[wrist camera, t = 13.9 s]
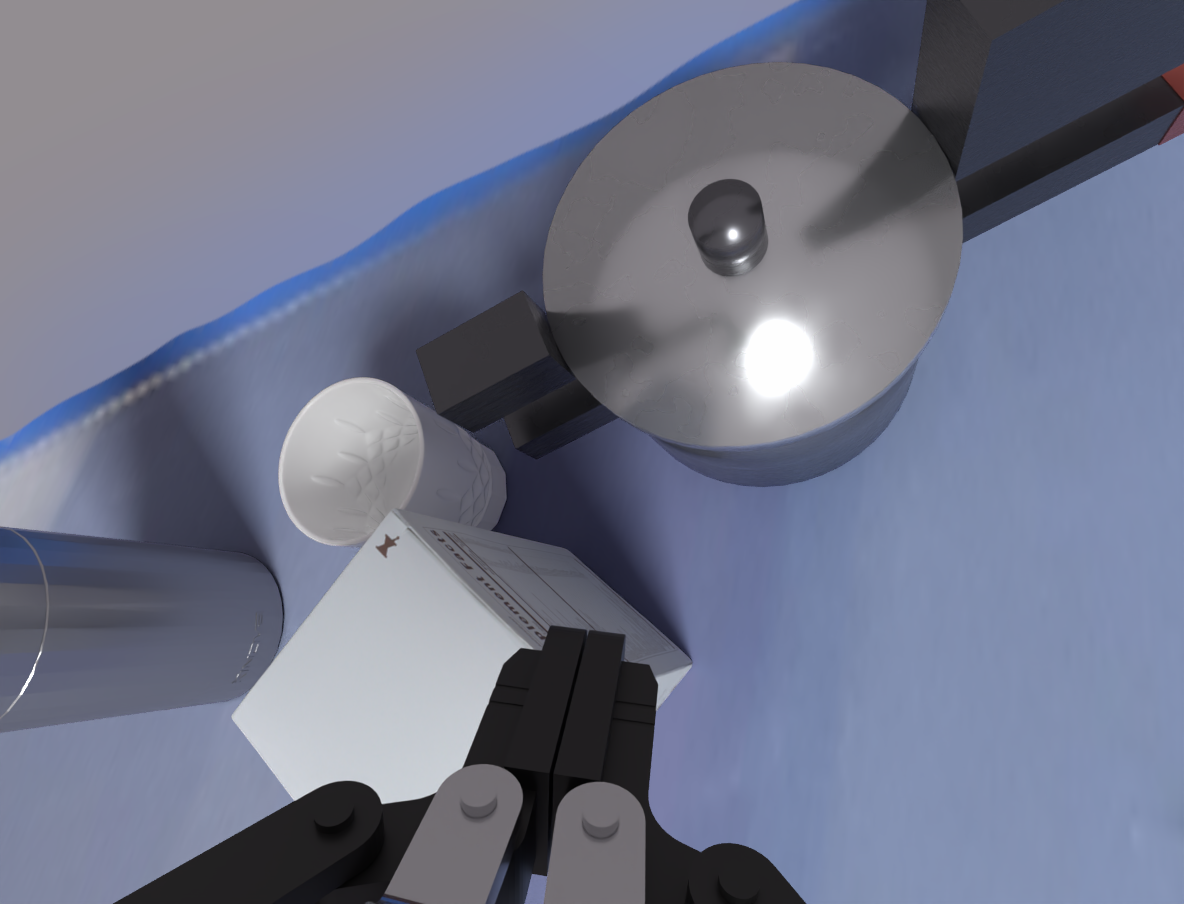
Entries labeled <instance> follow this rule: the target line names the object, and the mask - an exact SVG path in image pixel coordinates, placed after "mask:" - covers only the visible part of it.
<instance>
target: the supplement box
mask: <svg viewBox="0 0 1184 904" xmlns="http://www.w3.org/2000/svg"><path fill="white" fill-rule="evenodd" d="M551 625H555V626H563V627H571V628H578V629H586V630H587V636H588V632H589V630H595V631H603V632H611V633H619V634H626V644H625V657H624V661H626V662H633V663H641V664H648V665H650V667H651V670H652V672H653V674H654V676H655V678H656V681H657V683H658V694H657V705H656V711H657V710H658V709H659V707H660V706H661V705H662V703H663V702H664V701H665V700H666V698H667V697H668V696H669V695H670V693H671V692H672V691H673V690H674V688H675V687H676V686H677V685H678V684H679V682H680V681H681V680H682V678H683V677H684V676H685V675H686V673H687V672H688V671H689V670H690V668H691V667H692V661H691V659H690V658H689V657H688V656H687V655H686V654H685V653H684V652H683V651H681V650H680V649H679V648H678V647H677V646H676V645H675V644H674V643H673V642H672V641H670V640H669V639H668V638H667V637H666V636H665V635H664V634H663V633H662V632H660V631H659V630H658V629H657V628H656V627H655V626H654V625H653V624H652V623H650V622H649V621H648V620H647V619H646V618H645V617H643V616H642V615H641V614H640V613H639V612H638V611H637V610H635V609H634V608H633V607H632V606H631V605H630V604H628V603H627V602H626V601H625V600H624V599H623V598H622V597H621V596H619V595H618V594H617V593H616V592H615V591H614V590H613V589H612V588H610V587H609V586H608V585H607V584H606V583H605V582H604V581H603V580H601V579H600V578H599V577H598V576H597V575H596V574H595V573H594V572H592V571H591V570H590V569H589V568H588V567H587V566H586V565H585V564H583V563H582V562H581V561H580V560H579V559H578V558H577V557H576V556H575V555H573V554H572V553H571V552H570V551H568V550H567V549H565V548H562V547H557V546H554V545H549V544H545V543H540V542H536V541H532V540H528V539H523V538H519V537H515V536H511V535H506V534H502V533H498V532H493V531H488V530H484V529H481V528H477V527H472V526H469V525H465V524H461V523H457V522H452V521H448V520H444V519H440V518H435V517H431V516H427V515H423V514H419V513H415V512H410V511H406V510H402V509H397V508H394V509H392V510H391V511H390V512H389V514H388V515H387V516H386V517H385V518H384V520H383V521H382V522H381V523H380V525H379V526H378V527H377V528H376V530H375V531H374V532H373V533H372V535H371V536H370V537H369V539H368V540H367V541H366V542H365V544H364V545H363V546H362V548H361V549H360V550H359V551H358V553H357V554H356V555H355V556H354V558H353V559H352V560H351V562H350V563H349V564H348V565H347V567H346V568H345V569H344V571H343V572H342V573H341V574H340V576H339V577H338V578H337V580H336V581H335V582H334V584H333V585H332V586H331V587H330V589H329V590H328V591H327V593H326V594H325V595H324V596H323V598H322V599H321V600H320V602H319V603H318V604H317V605H316V607H315V608H314V609H313V611H312V612H311V613H310V614H309V616H308V617H307V618H306V620H305V621H304V622H303V623H302V625H301V626H300V627H299V629H298V630H297V631H296V632H295V634H294V635H293V636H292V638H291V639H290V640H289V641H288V643H287V644H286V645H285V647H284V648H283V649H282V650H281V652H280V653H279V654H278V656H277V657H276V658H275V659H274V661H273V662H272V663H271V665H270V666H269V667H268V668H267V670H266V671H265V672H264V673H263V675H262V676H261V677H260V678H259V680H258V681H257V682H256V684H255V685H254V686H253V687H252V689H251V690H250V691H249V693H248V694H247V695H246V697H245V698H244V699H243V701H242V702H241V704H240V705H239V706H238V708H237V709H236V710H235V711H234V713H233V714H232V719H233V721H234V722H235V723H236V725H237V726H238V727H239V728H240V730H241V731H242V732H243V733H244V735H245V736H246V738H247V739H248V740H249V741H250V743H251V744H252V745H253V747H254V748H255V749H256V751H257V752H258V753H259V754H260V756H261V757H262V758H263V760H264V761H265V762H266V764H267V765H268V766H269V768H270V769H271V770H272V772H273V773H274V774H275V776H276V777H277V778H278V780H279V781H280V782H281V784H282V785H283V786H284V788H285V789H286V790H287V792H288V793H289V794H290V796H291V797H292V798H293V800H294V801H295V800H297V799H299V798H301V797H303V796H304V795H306V794H308V793H310V792H311V791H313V790H315V789H317V788H319V787H321V786H323V785H326V784H329V783H332V782H337V781H357V782H361V783H364V784H366V785H368V786H369V787H371V788H372V789H373V790H374V791H375V792H376V793H377V794H378V796H379V797H380V800H381V803H382V804H385V803H393V802H400V801H408V800H414V799H419V798H423V797H426V796H429V795H431V794H434V793H436V792H437V790H438V789H439V787H440V786H441V784H442V783H443V782H444V781H445V780H446V778H448V777H449V776H450V775H451V774H453V773H454V772H456V771H458V770H460V769H462V767H463V765H464V763H465V760H466V758H467V755H468V753H469V750H470V747H471V745H472V742H473V740H474V737H475V735H476V732H477V730H478V727H479V725H480V722H481V720H482V717H483V714H484V712H485V709H486V707H487V705H488V704H489V699H490V697H491V694H492V692H493V689H494V688H495V685H496V682H497V679H498V676H499V674H500V671H501V669H502V666H503V664H504V663H505V662H506V661H507V660H508V659H509V658H510V657H511V656H512V655H513V654H515V653H516V652H517V651H518V650H519V649H520V648H527V649H534V650H542V648H543V645H544V642H545V639H546V636H547V633H548V630H549V627H550V626H551Z"/></svg>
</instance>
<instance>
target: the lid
mask: <svg viewBox="0 0 1184 904" xmlns="http://www.w3.org/2000/svg"><path fill="white" fill-rule="evenodd" d="M1182 64H1184V0H927V5H926V12H925V19H924V26H923V33H922V40H921V47H920V54H919V61H918V68H917V75H916V82H915V89H914V96H913V103H912V110H911V111H910V110H909V109H908V108H907V107H906V106H905V105H904V104H902V103H901V102H900V101H899V100H898V99H896V98H895V97H893V96H891V95H890V94H888V93H887V92H885V91H884V90H882V89H881V88H879V87H878V86H875V85H873V84H871V83H869V82H867V81H865V80H863V79H860V78H858V77H856V76H854V75H851V74H847V73H844V72H841V71H838V70H834V69H831V68H827V67H821V66H815V65H810V64H804V63H785V62H772V63H756V64H748V65H742V66H736V67H730V68H725V69H722V70H718V71H715V72H711V73H708V74H704V75H701V76H698V77H696V78H693V79H691V80H689V81H686V82H684V83H681V84H679V85H676V86H674V87H673V88H671V89H669V90H667V91H665V92H663V93H661V94H659V95H657V96H656V97H654V98H652V99H651V100H649V101H648V102H646V103H645V104H643V105H642V106H640V107H639V108H637V109H636V110H634V111H633V112H632V113H630V114H629V115H628V116H627V117H626V118H624V119H623V120H622V121H621V122H619V123H618V124H617V125H616V126H615V127H613V128H612V129H611V130H610V131H609V132H608V134H607V135H606V136H605V137H604V138H603V139H602V140H601V141H600V142H599V143H598V144H597V145H596V146H595V147H594V148H593V150H592V151H591V152H590V153H589V155H588V156H587V157H586V158H585V160H584V161H583V162H582V163H581V165H580V166H579V168H578V169H577V171H576V173H575V174H574V176H573V177H572V179H571V181H570V182H569V184H568V185H567V187H566V190H565V192H564V194H563V196H562V198H561V200H560V202H559V204H558V206H557V209H556V212H555V215H554V217H553V220H552V223H551V226H550V229H549V234H548V238H547V243H546V247H545V253H544V264H543V294H544V302H545V307H546V313H547V315H546V314H545V313H544V312H543V311H542V310H541V309H540V308H539V307H538V306H537V305H536V304H535V303H534V302H533V300H532V299H531V298H530V297H529V296H528V295H527V294H526V293H525V292H524V291H521V292H519V293H517V294H515V295H514V296H512V297H510V298H508V299H506V300H505V301H503V302H501V303H499V304H497V305H496V306H494V307H492V308H490V309H489V310H487V311H485V312H483V313H481V314H480V315H478V316H476V317H474V318H472V319H471V320H469V321H467V322H465V323H463V324H462V325H460V326H458V327H456V328H455V329H453V330H451V331H449V332H447V333H446V334H444V335H442V336H440V337H438V338H437V339H435V340H433V341H431V342H429V343H428V344H426V345H424V346H422V347H421V348H419V349H417V350H416V353H417V356H418V359H419V362H420V364H421V367H422V370H423V373H424V376H425V379H426V382H427V385H428V388H429V391H430V394H431V397H432V400H433V403H434V406H435V409H436V412H437V415H439V416H441V417H443V418H445V419H447V420H449V421H451V422H453V423H455V424H457V425H459V426H461V427H463V428H465V429H467V430H469V431H471V432H473V433H474V432H476V431H478V430H480V429H482V428H484V427H486V426H488V425H489V424H491V423H493V422H495V421H497V420H499V419H501V418H503V417H505V416H507V415H509V414H511V413H513V412H514V411H516V410H518V409H520V408H522V407H524V406H526V405H528V404H530V403H532V402H534V401H536V400H538V399H539V398H541V397H543V396H545V395H547V394H549V393H551V392H553V391H555V390H557V389H559V388H561V387H563V386H564V385H566V384H568V383H570V382H572V381H574V380H576V378H577V379H578V380H579V381H580V382H581V384H582V385H583V386H584V387H585V388H586V389H587V390H588V391H589V392H590V393H591V394H592V395H593V396H594V397H595V398H596V399H597V400H598V401H599V402H600V403H601V404H602V405H604V406H605V407H606V408H607V409H609V410H610V411H611V412H613V413H614V414H615V415H616V416H618V417H619V418H620V419H621V420H623V421H625V422H627V423H628V424H630V425H632V426H633V427H635V428H637V429H638V430H640V431H642V432H644V433H647V434H649V435H651V436H654V437H656V438H659V439H661V440H664V441H666V442H670V443H674V444H678V445H681V446H685V447H689V448H695V449H703V450H711V451H752V450H759V449H767V448H774V447H778V446H782V445H786V444H790V443H794V442H798V441H802V440H804V439H807V438H809V437H812V436H814V435H817V434H820V433H822V432H825V431H827V430H830V429H832V428H833V427H835V426H837V425H839V424H841V423H843V422H844V421H846V420H848V419H850V418H852V417H854V416H855V415H857V414H858V413H860V412H861V411H863V410H864V409H865V408H867V407H868V406H870V405H871V404H872V403H874V402H875V401H877V400H878V399H879V398H881V397H882V396H883V395H884V394H885V393H886V392H887V391H888V390H889V389H890V388H891V387H892V386H894V385H895V384H896V383H897V382H898V381H899V380H900V379H901V378H902V377H903V376H904V375H905V373H906V372H907V371H908V370H909V369H910V367H911V366H912V365H913V364H914V363H915V361H916V360H917V359H918V358H919V357H920V355H921V354H922V352H923V351H924V349H925V348H926V346H927V344H928V343H929V341H930V340H931V338H932V336H933V335H934V333H935V331H936V330H937V328H938V325H939V323H940V321H941V319H942V316H943V314H944V312H945V309H946V307H947V305H948V302H949V300H950V297H951V294H952V291H953V287H954V283H955V280H956V276H957V273H958V269H959V265H960V258H961V249H962V241H963V225H962V208H961V203H960V198H959V193H958V188H957V183H956V182H957V181H959V180H961V179H963V178H965V177H967V176H968V175H970V174H972V173H974V172H976V171H978V170H980V169H982V168H984V167H986V166H988V165H990V164H992V163H993V162H995V161H997V160H999V159H1001V158H1003V157H1005V156H1007V155H1009V154H1011V153H1013V152H1015V151H1017V150H1018V149H1020V148H1022V147H1024V146H1026V145H1028V144H1030V143H1032V142H1034V141H1036V140H1038V139H1040V138H1042V137H1043V136H1045V135H1047V134H1049V133H1051V132H1053V131H1055V130H1057V129H1059V128H1061V127H1063V126H1065V125H1067V124H1068V123H1070V122H1072V121H1074V120H1076V119H1078V118H1080V117H1082V116H1084V115H1086V114H1088V113H1090V112H1092V111H1093V110H1095V109H1097V108H1099V107H1101V106H1103V105H1105V104H1107V103H1109V102H1111V101H1113V100H1115V99H1117V98H1118V97H1120V96H1122V95H1124V94H1126V93H1128V92H1130V91H1132V90H1134V89H1136V88H1138V87H1140V86H1142V85H1143V84H1145V83H1147V82H1149V81H1151V80H1153V79H1155V78H1157V77H1159V76H1161V75H1163V74H1165V73H1167V72H1168V71H1170V70H1172V69H1174V68H1176V67H1178V66H1180V65H1182ZM575 376H576V378H575Z"/></svg>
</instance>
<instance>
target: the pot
mask: <svg viewBox="0 0 1184 904" xmlns="http://www.w3.org/2000/svg"><path fill="white" fill-rule="evenodd" d="M1183 133H1184V64H1182V65H1180V66H1178V67H1176V68H1174V69H1172V70H1170V71H1168V72H1167V73H1165V74H1163V75H1161V76H1159V77H1157V78H1155V79H1153V80H1151V81H1149V82H1147V83H1145V84H1143V85H1142V86H1140V87H1138V88H1136V89H1134V90H1132V91H1130V92H1128V93H1126V94H1124V95H1122V96H1120V97H1118V98H1117V99H1115V100H1113V101H1111V102H1109V103H1107V104H1105V105H1103V106H1101V107H1099V108H1097V109H1095V110H1093V111H1092V112H1090V113H1088V114H1086V115H1084V116H1082V117H1080V118H1078V119H1076V120H1074V121H1072V122H1070V123H1068V124H1067V125H1065V126H1063V127H1061V128H1059V129H1057V130H1055V131H1053V132H1051V133H1049V134H1047V135H1045V136H1043V137H1042V138H1040V139H1038V140H1036V141H1034V142H1032V143H1030V144H1028V145H1026V146H1024V147H1022V148H1020V149H1018V150H1017V151H1015V152H1013V153H1011V154H1009V155H1007V156H1005V157H1003V158H1001V159H999V160H997V161H995V162H993V163H992V164H990V165H988V166H986V167H984V168H982V169H980V170H978V171H976V172H974V173H972V174H970V175H968V176H967V177H965V178H963V179H961V180H959V181H957V182H956V183H957V188H958V193H959V198H960V203H961V208H962V225H963V241H962V243H964V242H966V241H968V240H970V239H972V238H974V237H976V236H978V235H980V234H982V233H984V232H986V231H988V230H990V229H992V228H994V227H996V226H998V225H1000V224H1001V223H1003V222H1005V221H1007V220H1009V219H1011V218H1013V217H1015V216H1017V215H1019V214H1021V213H1023V212H1025V211H1027V210H1029V209H1031V208H1033V207H1035V206H1037V205H1039V204H1041V203H1043V202H1045V201H1047V200H1049V199H1051V198H1053V197H1055V196H1057V195H1059V194H1061V193H1063V192H1065V191H1067V190H1069V189H1071V188H1073V187H1074V186H1076V185H1078V184H1080V183H1082V182H1084V181H1086V180H1088V179H1090V178H1092V177H1094V176H1096V175H1098V174H1100V173H1102V172H1104V171H1106V170H1108V169H1110V168H1112V167H1114V166H1116V165H1118V164H1120V163H1122V162H1124V161H1126V160H1128V159H1130V158H1132V157H1134V156H1136V155H1138V154H1140V153H1142V152H1144V151H1146V150H1147V149H1149V148H1151V147H1153V146H1155V145H1157V144H1158V145H1161V144H1163V143H1165V142H1167V141H1169V140H1171V139H1173V138H1175V137H1177V136H1179V135H1181V134H1183ZM917 361H918V359H917V360H916V361H915V363H914V364H913V365H912V366H911V367H910V369H909V370H908V371H907V372H906V373H905V375H904V376H903V377H902V378H901V379H900V380H899V381H898V382H897V383H896V384H895V385H894V386H892V387H891V388H890V389H889V390H888V391H887V392H886V393H885V394H884V395H883V396H882V397H881V398H879V399H878V400H877V401H875V402H874V403H872V404H871V405H870V406H868V407H867V408H865V409H864V410H863V411H861V412H860V413H858V414H857V415H855V416H854V417H852V418H850V419H848V420H846V421H844V422H843V423H841V424H839V425H837V426H835V427H833V428H832V429H830V430H827V431H825V432H822V433H820V434H817V435H814V436H812V437H809V438H807V439H804V440H802V441H798V442H794V443H790V444H786V445H782V446H778V447H774V448H767V449H759V450H752V451H711V450H703V449H695V448H689V447H685V446H681V445H678V444H674V443H670V442H666V441H664V440H661V439H659V438H656V437H654V436H651V435H650V436H651V437H652V438H653V439H654V440H655V441H656V442H657V443H658V444H659V445H660V446H661V447H662V448H663V449H664V450H666V451H667V452H668V453H669V454H670V455H671V456H673V457H674V458H675V459H676V460H678V461H679V462H681V463H682V464H684V465H685V466H687V467H689V468H690V469H692V470H694V471H696V472H698V473H701V474H703V475H705V476H707V477H710V478H713V479H716V480H719V481H722V482H726V483H731V484H737V485H742V486H757V487H768V486H782V485H788V484H793V483H798V482H803V481H806V480H809V479H812V478H815V477H818V476H821V475H823V474H826V473H828V472H830V471H832V470H834V469H836V468H838V467H840V466H842V465H843V464H845V463H846V462H848V461H850V460H851V459H853V458H854V457H856V456H857V455H859V454H860V453H861V452H862V451H863V450H865V449H866V448H867V447H868V446H869V445H870V444H872V443H873V442H874V441H875V440H876V439H877V438H878V436H879V435H880V434H881V433H882V432H883V431H884V430H885V429H886V428H887V426H888V425H889V424H890V422H891V421H892V419H893V418H894V416H895V415H896V413H897V412H898V410H899V409H900V407H901V405H902V403H903V401H904V398H905V396H906V394H907V392H908V390H909V387H910V384H911V380H912V377H913V374H914V371H915V368H916V365H917ZM575 378H576V376H575ZM617 418H619V417H618V416H616V415H615V414H614V413H613V412H611V411H610V410H609V409H607V408H606V407H605V406H604V405H602V404H601V403H600V402H599V401H598V400H597V399H596V398H595V397H594V396H593V395H592V394H591V393H590V392H589V391H588V390H587V389H586V388H585V387H584V386H583V385H582V384H581V382H580V381H579V380H578V379H577V378H576V380H574V381H572V382H570V383H568V384H566V385H564V386H563V387H561V388H559V389H557V390H555V391H553V392H551V393H549V394H547V395H545V396H543V397H541V398H539V399H538V400H536V401H534V402H532V403H530V404H528V405H526V406H524V407H522V408H520V409H518V410H516V411H514V412H513V413H511V414H509V415H507V416H505V417H504V419H505V422H506V425H507V427H508V430H509V433H510V435H511V438H512V441H513V443H514V446H515V449H517V450H519V451H521V452H523V453H525V454H527V455H529V456H531V457H533V458H535V459H538V458H540V457H542V456H544V455H546V454H548V453H550V452H552V451H554V450H556V449H558V448H560V447H562V446H564V445H566V444H568V443H570V442H572V441H574V440H576V439H578V438H579V437H581V436H583V435H585V434H587V433H589V432H591V431H593V430H595V429H597V428H599V427H601V426H603V425H605V424H607V423H609V422H611V421H613V420H615V419H617ZM648 435H649V434H648Z"/></svg>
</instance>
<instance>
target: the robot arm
mask: <svg viewBox="0 0 1184 904" xmlns="http://www.w3.org/2000/svg"><path fill="white" fill-rule="evenodd" d="M282 621H283V613H282V601H281V597H280V594H279V590H278V586H277V584H276V582H275V580H274V578H273V576H272V575H271V573H270V572H269V571H268V569H267V568H266V567H265V566H264V565H263V564H262V563H261V562H260V561H258V560H257V559H255V558H254V557H252V556H250V555H247V554H244V553H241V552H232V551H222V550H213V549H204V548H195V547H187V546H179V545H170V544H160V543H151V542H141V541H132V540H122V539H113V538H104V537H94V536H85V535H75V534H66V533H57V532H47V531H38V530H28V529H19V528H9V527H0V733H2V732H10V731H17V730H24V729H31V728H38V727H45V726H53V725H60V724H67V723H74V722H81V721H88V720H95V719H103V718H110V717H117V716H124V715H131V714H138V713H146V712H153V711H160V710H168V709H175V708H182V707H189V706H197V705H204V704H211V703H218V702H225V701H229V700H231V699H234V698H237V697H239V696H241V695H242V694H244V693H245V692H247V691H248V690H250V689H251V688H252V687H253V686H254V685H255V684H256V682H257V681H258V680H259V678H260V677H261V676H262V675H263V673H264V672H265V671H266V670H267V668H268V667H269V666H270V665H271V663H272V660H273V658H274V656H275V653H276V651H277V649H278V645H279V641H280V637H281V632H282ZM625 644H626V634H619V633H611V632H603V631H595V630H589V632H588V636H587V630H586V629H578V628H571V627H563V626H555V625H551V626H550V627H549V630H548V633H547V636H546V639H545V642H544V645H543V648H542V650H534V649H527V648H520V649H519V650H518V651H517V652H516V653H515V654H513V655H512V656H511V657H510V658H509V659H508V660H507V661H506V662H505V663H504V664H503V666H502V669H501V671H500V674H499V676H498V679H497V682H496V685H495V688H494V689H493V692H492V694H491V697H490V699H489V704H488V705H487V707H486V709H485V712H484V714H483V717H482V720H481V722H480V725H479V727H478V730H477V732H476V735H475V737H474V740H473V742H472V745H471V747H470V750H469V753H468V755H467V758H466V760H465V763H464V765H463V767H462V769H460V770H458V771H456V772H454V773H453V774H451V775H450V776H449V777H448V778H446V780H445V781H444V782H443V783H442V784H441V786H440V787H439V789H438V790H437V792H436V793H434V794H431V795H429V796H426V797H423V798H419V799H414V800H408V801H400V802H393V803H385V804H382V803H381V800H380V797H379V796H378V794H377V793H376V792H375V791H374V790H373V789H372V788H371V787H369V786H368V785H366V784H364V783H361V782H357V781H337V782H332V783H329V784H326V785H323V786H321V787H319V788H317V789H315V790H313V791H311V792H310V793H308V794H306V795H304V796H303V797H301V798H299V799H297V800H295V801H294V802H292V803H290V804H288V805H287V806H285V807H283V808H281V809H280V810H278V811H276V812H274V813H272V814H271V815H269V816H267V817H265V818H264V819H262V820H260V821H258V822H257V823H255V824H253V825H251V826H250V827H248V828H246V829H244V830H242V831H241V832H239V833H237V834H235V835H234V836H232V837H230V838H228V839H227V840H225V841H223V842H221V843H219V844H218V845H216V846H214V847H212V848H211V849H209V850H207V851H205V852H204V853H202V854H200V855H198V856H197V857H195V858H193V859H191V860H189V861H188V862H186V863H184V864H182V865H181V866H179V867H177V868H175V869H174V870H172V871H170V872H168V873H166V874H165V875H163V876H161V877H159V878H158V879H156V880H154V881H152V882H151V883H149V884H147V885H145V886H144V887H142V888H140V889H138V890H136V891H135V892H133V893H131V894H129V895H128V896H126V897H124V898H122V899H121V900H119V901H117V902H115V903H113V904H524V903H525V900H526V895H527V891H528V887H529V883H530V879H531V875H532V874H537V875H543V876H547V873H548V877H547V884H546V891H545V898H544V904H806V903H805V902H804V901H803V899H802V898H801V897H800V896H799V895H798V893H797V892H796V891H795V890H794V889H793V887H792V886H791V885H790V884H789V883H788V881H787V880H786V879H785V878H784V877H783V876H782V874H781V873H780V872H779V871H778V870H777V868H776V867H775V866H774V865H773V864H772V863H771V862H770V861H769V860H768V859H767V858H766V857H764V856H763V855H762V854H760V853H759V852H757V851H755V850H753V849H751V848H749V847H746V846H743V845H739V844H732V843H722V844H717V845H713V846H711V847H709V848H707V849H705V850H704V851H702V852H699V851H697V850H695V849H693V848H691V847H689V846H687V845H685V844H683V843H681V842H679V841H678V840H676V839H674V838H673V837H671V836H670V835H669V834H668V833H666V832H665V831H664V830H663V829H662V828H661V826H660V825H659V824H658V823H657V821H656V820H655V818H654V816H653V814H652V812H651V809H650V806H649V800H648V790H649V780H650V769H651V758H652V748H653V737H654V726H655V716H656V705H657V694H658V683H657V681H656V678H655V676H654V674H653V672H652V670H651V667H650V665H648V664H641V663H633V662H626V661H624V657H625Z"/></svg>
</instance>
